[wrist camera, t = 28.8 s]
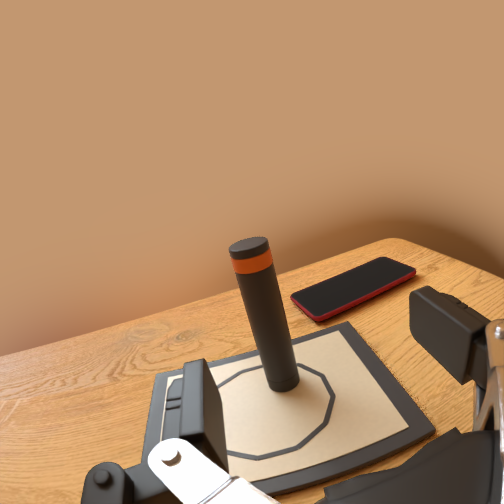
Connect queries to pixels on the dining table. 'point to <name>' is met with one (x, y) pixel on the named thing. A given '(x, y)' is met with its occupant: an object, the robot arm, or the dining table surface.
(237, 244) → the marker
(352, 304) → the smartphone
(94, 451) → the dining table surface
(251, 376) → the board
